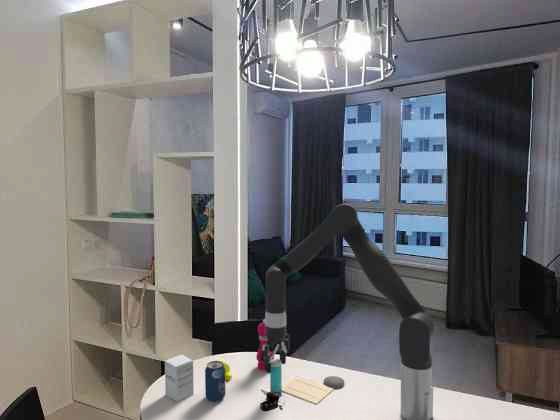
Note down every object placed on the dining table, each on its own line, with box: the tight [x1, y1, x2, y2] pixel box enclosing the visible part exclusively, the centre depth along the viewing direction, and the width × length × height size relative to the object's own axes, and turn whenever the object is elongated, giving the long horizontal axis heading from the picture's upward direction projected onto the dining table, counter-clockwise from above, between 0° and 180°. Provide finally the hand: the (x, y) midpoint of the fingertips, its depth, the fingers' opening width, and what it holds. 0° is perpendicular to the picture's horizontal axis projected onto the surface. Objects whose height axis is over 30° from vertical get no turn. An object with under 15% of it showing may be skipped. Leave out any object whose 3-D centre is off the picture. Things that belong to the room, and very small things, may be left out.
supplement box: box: [164, 354, 195, 403], centre depth 136 cm, size 7×7×13 cm
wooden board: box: [282, 375, 335, 405], centre depth 139 cm, size 16×12×1 cm
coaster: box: [323, 375, 345, 389], centre depth 144 cm, size 8×8×1 cm
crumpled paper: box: [221, 359, 233, 381], centre depth 148 cm, size 6×8×8 cm
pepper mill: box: [255, 318, 275, 372], centre depth 156 cm, size 7×7×20 cm
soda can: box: [204, 360, 226, 403], centre depth 134 cm, size 7×7×12 cm
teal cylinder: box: [269, 358, 283, 397], centre depth 136 cm, size 4×4×12 cm
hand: (275, 367), depth 136 cm, fingers open, 8 cm apart
